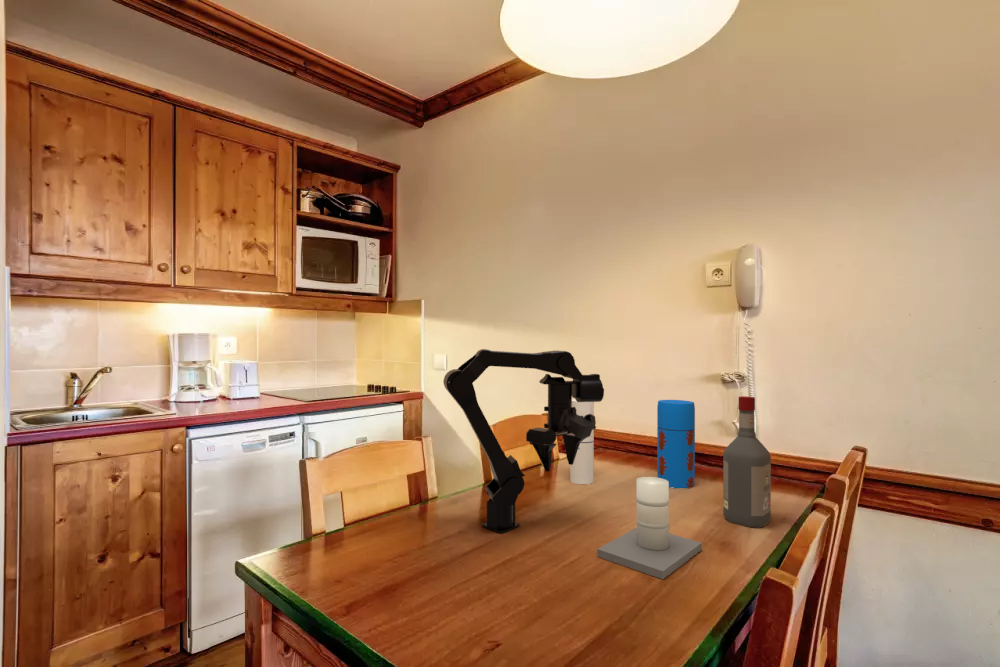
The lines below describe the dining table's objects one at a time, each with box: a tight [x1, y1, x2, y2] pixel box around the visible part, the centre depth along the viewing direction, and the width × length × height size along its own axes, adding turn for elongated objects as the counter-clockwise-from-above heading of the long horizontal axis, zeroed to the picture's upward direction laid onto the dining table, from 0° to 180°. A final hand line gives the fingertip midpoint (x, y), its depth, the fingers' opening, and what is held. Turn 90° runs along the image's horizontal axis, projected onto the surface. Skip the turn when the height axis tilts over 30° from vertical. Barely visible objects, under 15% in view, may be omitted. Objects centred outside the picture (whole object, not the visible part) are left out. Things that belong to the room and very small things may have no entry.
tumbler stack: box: [635, 476, 670, 550], centre depth 104 cm, size 6×6×13 cm
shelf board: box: [596, 527, 703, 580], centre depth 103 cm, size 18×14×2 cm
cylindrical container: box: [569, 398, 595, 485], centre depth 155 cm, size 7×7×25 cm
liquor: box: [722, 395, 772, 528], centre depth 122 cm, size 9×9×30 cm
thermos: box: [656, 399, 696, 489], centre depth 153 cm, size 11×11×25 cm
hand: (559, 467), depth 120 cm, fingers open, 9 cm apart
